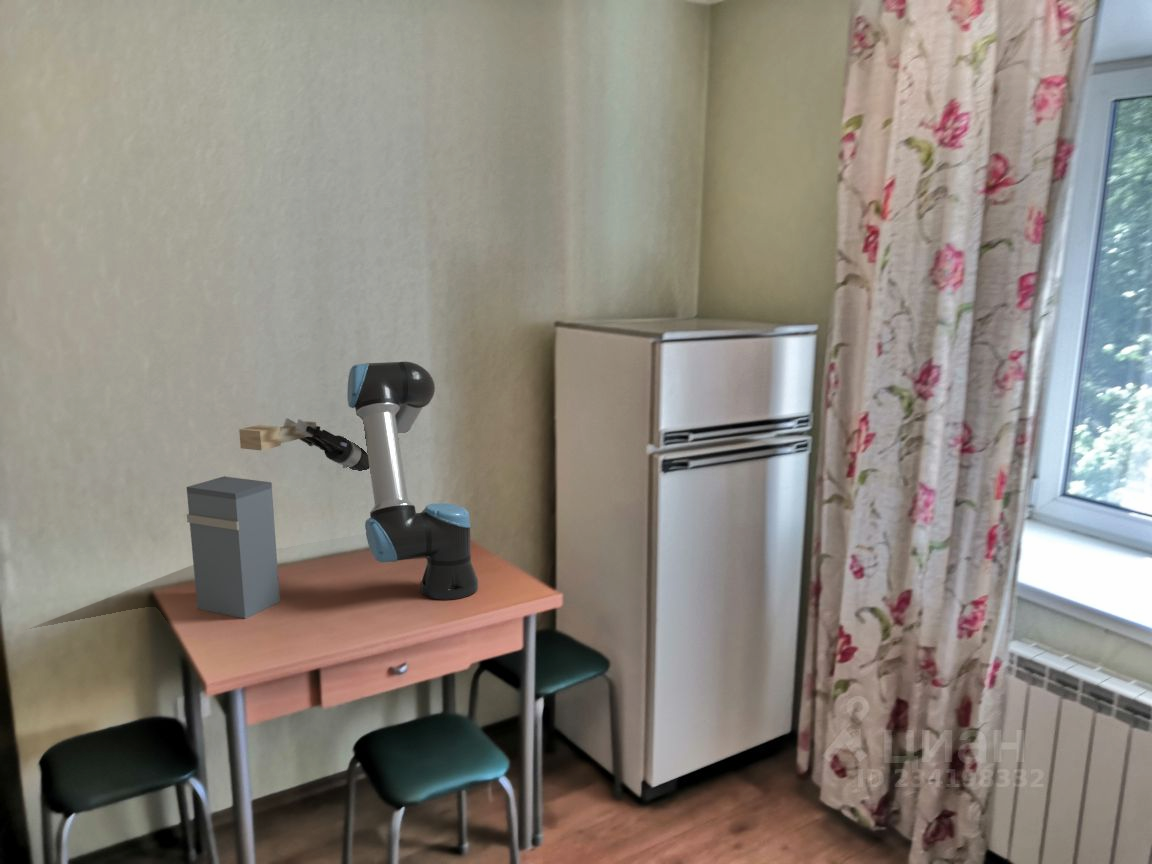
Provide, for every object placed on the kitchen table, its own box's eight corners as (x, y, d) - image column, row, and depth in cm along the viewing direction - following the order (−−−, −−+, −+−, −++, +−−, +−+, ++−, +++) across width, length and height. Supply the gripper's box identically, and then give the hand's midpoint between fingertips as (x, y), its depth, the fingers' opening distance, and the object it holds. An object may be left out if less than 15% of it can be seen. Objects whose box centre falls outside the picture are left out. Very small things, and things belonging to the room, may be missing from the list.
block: (302, 432, 242) (300, 415, 241) (321, 434, 239) (320, 417, 238) (240, 448, 221) (239, 429, 220) (261, 450, 218) (260, 431, 217)
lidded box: (280, 601, 222) (272, 482, 216) (244, 619, 211) (234, 494, 205) (232, 592, 228) (223, 476, 222) (195, 609, 217) (184, 487, 211)
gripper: (361, 465, 249) (311, 438, 228) (316, 460, 255) (263, 434, 235) (368, 441, 251) (319, 412, 230) (323, 437, 257) (272, 408, 237)
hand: (291, 423), depth 233 cm, fingers closed on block, 3 cm apart
